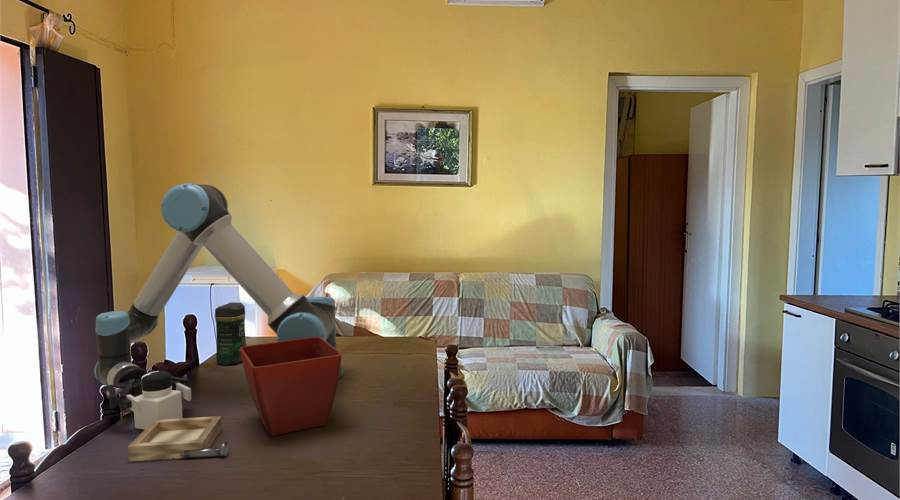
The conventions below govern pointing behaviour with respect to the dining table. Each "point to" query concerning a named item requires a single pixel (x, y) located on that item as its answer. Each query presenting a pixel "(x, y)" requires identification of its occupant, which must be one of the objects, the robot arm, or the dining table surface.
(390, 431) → the dining table surface
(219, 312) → the coffee jar
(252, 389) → the plant pot
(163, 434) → the wooden tray
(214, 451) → the pin
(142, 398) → the medicine bottle
